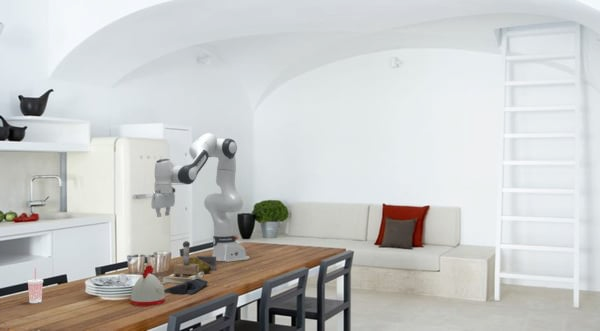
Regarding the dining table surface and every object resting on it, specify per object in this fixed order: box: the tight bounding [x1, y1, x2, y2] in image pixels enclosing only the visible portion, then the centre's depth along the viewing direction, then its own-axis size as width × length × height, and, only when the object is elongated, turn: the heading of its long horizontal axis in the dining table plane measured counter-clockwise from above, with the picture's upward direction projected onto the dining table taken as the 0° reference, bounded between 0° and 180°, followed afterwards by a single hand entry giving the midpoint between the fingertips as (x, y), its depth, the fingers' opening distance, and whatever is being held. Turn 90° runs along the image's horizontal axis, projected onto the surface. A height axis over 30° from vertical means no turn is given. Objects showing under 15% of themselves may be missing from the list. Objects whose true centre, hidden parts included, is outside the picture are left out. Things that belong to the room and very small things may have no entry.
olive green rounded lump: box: [189, 256, 212, 274], centre depth 322 cm, size 8×13×8 cm, turn 58°
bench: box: [162, 255, 217, 284], centre depth 314 cm, size 39×14×7 cm, turn 166°
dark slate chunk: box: [164, 278, 208, 295], centre depth 282 cm, size 15×22×5 cm
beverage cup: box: [27, 267, 44, 304], centre depth 257 cm, size 6×6×14 cm
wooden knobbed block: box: [173, 240, 199, 277], centre depth 307 cm, size 7×11×18 cm, turn 76°
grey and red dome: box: [130, 265, 166, 307], centre depth 257 cm, size 14×14×15 cm
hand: (163, 216), depth 323 cm, fingers open, 8 cm apart
